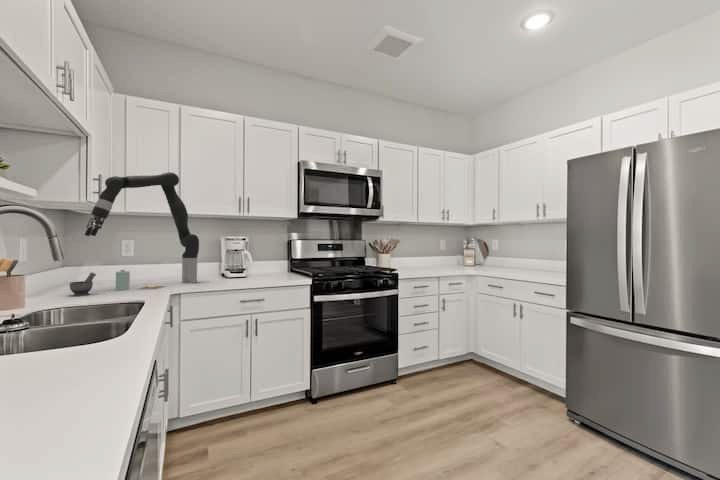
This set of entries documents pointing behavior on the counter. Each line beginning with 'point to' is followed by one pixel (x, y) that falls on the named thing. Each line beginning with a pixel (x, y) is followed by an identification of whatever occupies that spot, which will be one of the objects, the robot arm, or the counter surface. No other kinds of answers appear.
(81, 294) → the mortar and pestle
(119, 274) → the green canister
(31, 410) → the counter surface
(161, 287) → the board
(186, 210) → the robot arm
